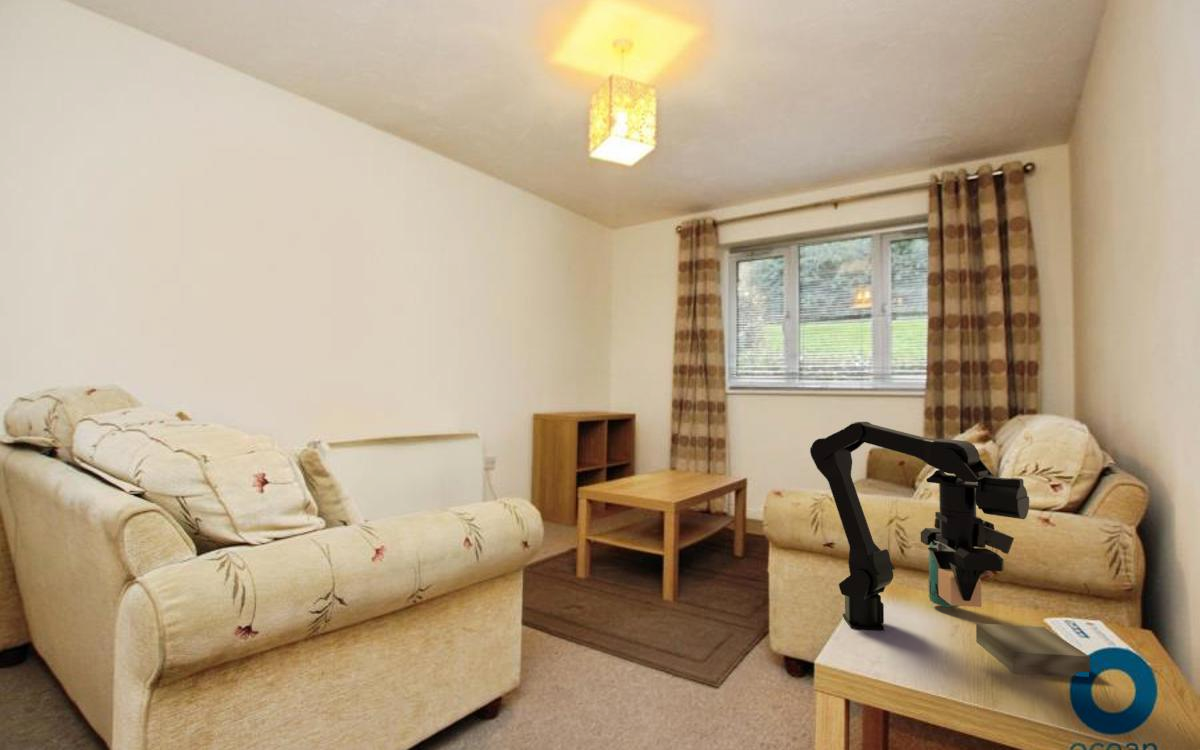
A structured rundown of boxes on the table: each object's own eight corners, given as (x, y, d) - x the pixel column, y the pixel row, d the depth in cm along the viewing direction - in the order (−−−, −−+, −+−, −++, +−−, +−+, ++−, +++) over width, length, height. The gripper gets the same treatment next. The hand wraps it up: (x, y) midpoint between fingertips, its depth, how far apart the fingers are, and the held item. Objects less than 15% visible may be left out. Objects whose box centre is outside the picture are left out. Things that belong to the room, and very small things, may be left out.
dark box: (1013, 675, 97) (1012, 651, 97) (976, 644, 109) (976, 623, 109) (1090, 680, 95) (1089, 656, 96) (1044, 648, 107) (1044, 627, 107)
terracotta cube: (951, 605, 101) (950, 577, 101) (938, 595, 106) (938, 568, 106) (981, 606, 100) (980, 578, 100) (967, 596, 105) (966, 569, 105)
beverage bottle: (921, 603, 128) (920, 515, 129) (948, 602, 129) (947, 515, 130) (942, 615, 122) (941, 522, 122) (970, 613, 123) (969, 521, 123)
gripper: (1037, 522, 93) (1039, 618, 93) (979, 501, 112) (980, 580, 111) (964, 520, 95) (966, 614, 94) (918, 499, 113) (920, 577, 113)
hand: (959, 595), depth 103 cm, fingers closed on terracotta cube, 5 cm apart
